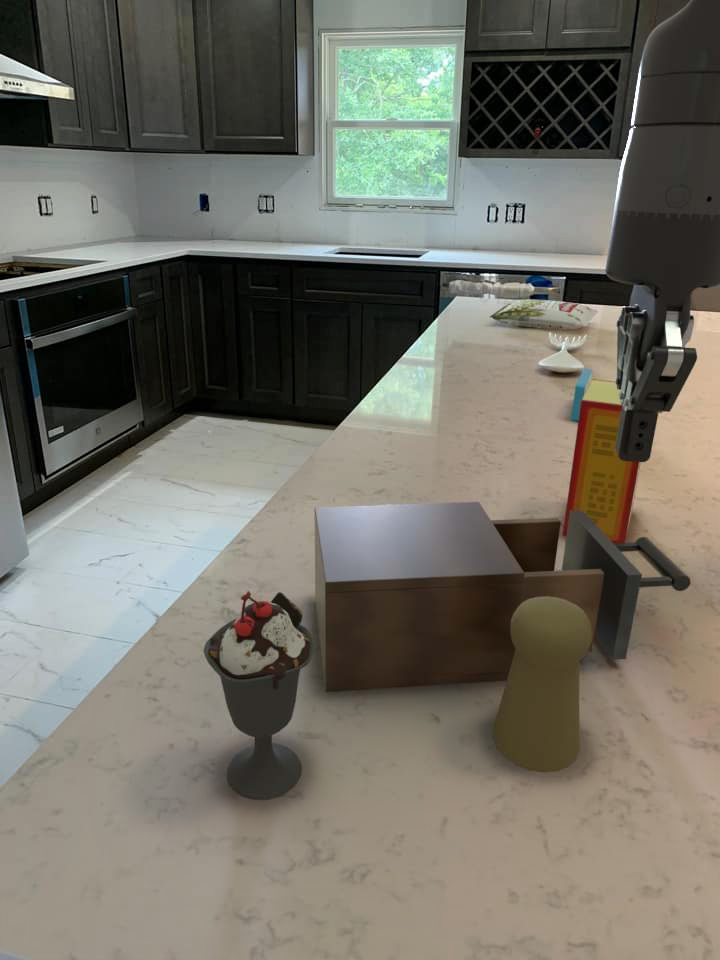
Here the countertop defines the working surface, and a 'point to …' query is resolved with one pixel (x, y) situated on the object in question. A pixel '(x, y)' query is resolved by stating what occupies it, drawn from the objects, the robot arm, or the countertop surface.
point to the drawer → (588, 572)
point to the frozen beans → (545, 314)
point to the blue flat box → (581, 392)
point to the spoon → (563, 355)
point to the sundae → (262, 690)
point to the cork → (543, 685)
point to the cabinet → (413, 596)
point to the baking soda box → (601, 465)
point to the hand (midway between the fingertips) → (631, 457)
